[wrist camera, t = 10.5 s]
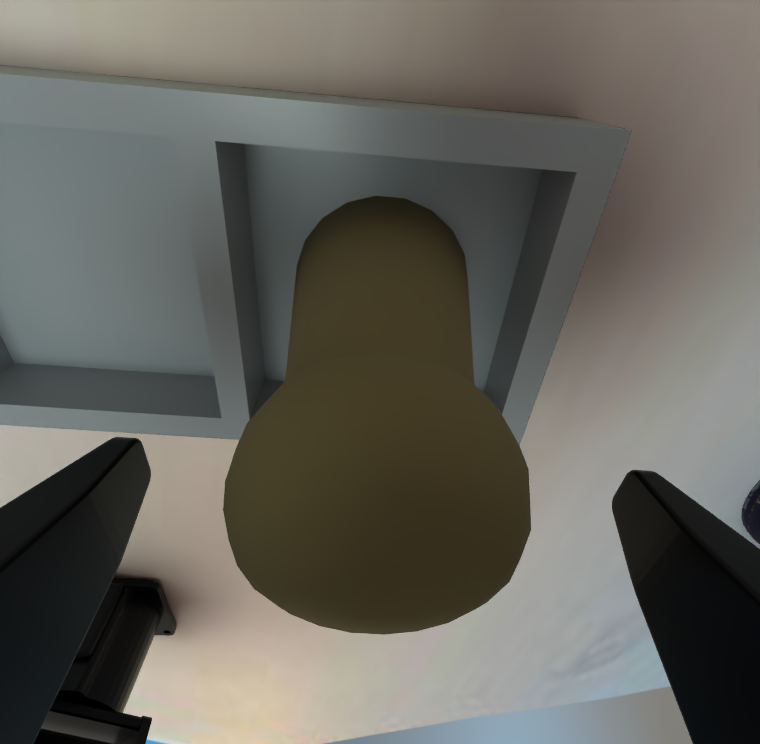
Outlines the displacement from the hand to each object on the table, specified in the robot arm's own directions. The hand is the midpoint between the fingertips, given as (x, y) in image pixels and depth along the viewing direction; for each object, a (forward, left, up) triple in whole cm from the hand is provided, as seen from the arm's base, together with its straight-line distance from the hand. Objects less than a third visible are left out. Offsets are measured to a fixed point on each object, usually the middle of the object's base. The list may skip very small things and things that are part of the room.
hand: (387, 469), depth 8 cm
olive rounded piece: (0, 0, -9) cm, 9 cm away
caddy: (0, +5, -10) cm, 11 cm away
